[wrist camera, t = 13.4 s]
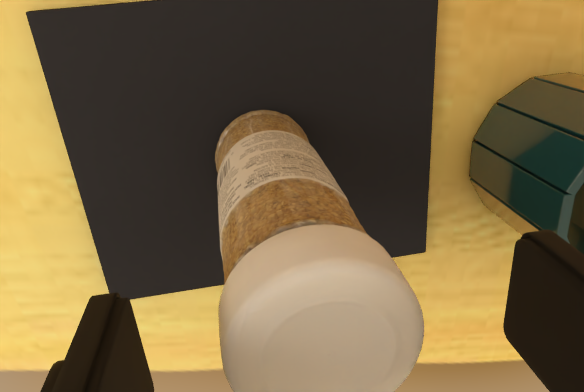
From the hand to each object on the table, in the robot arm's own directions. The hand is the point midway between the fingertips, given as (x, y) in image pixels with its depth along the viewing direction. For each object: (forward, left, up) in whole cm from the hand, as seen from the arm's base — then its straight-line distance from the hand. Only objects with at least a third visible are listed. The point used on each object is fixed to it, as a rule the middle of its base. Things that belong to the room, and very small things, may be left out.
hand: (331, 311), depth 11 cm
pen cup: (-15, +2, -13) cm, 19 cm away
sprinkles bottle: (0, 0, -12) cm, 12 cm away
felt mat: (0, 0, -13) cm, 13 cm away
